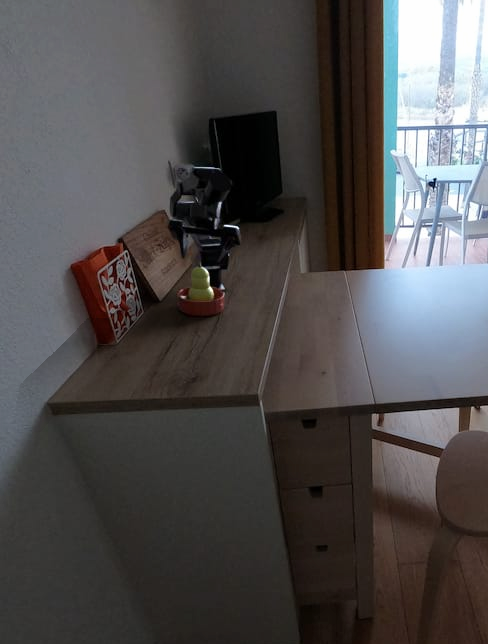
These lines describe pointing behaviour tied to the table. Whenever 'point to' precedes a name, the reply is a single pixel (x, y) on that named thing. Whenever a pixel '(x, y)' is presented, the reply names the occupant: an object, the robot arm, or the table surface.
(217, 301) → the bowl
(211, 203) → the robot arm
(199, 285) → the pear
